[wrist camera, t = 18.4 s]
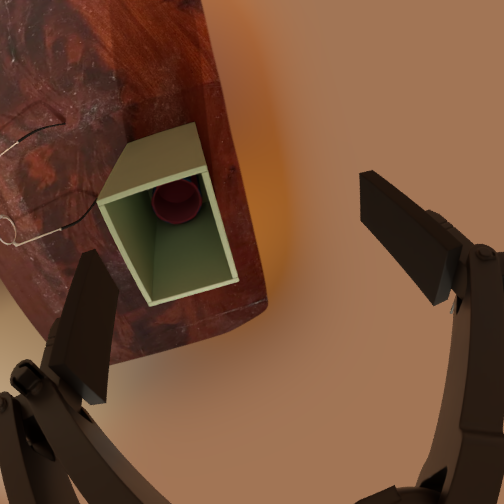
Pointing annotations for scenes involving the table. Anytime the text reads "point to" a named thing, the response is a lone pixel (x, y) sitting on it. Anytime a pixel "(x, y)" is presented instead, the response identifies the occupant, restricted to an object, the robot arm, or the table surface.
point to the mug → (177, 200)
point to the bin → (158, 231)
